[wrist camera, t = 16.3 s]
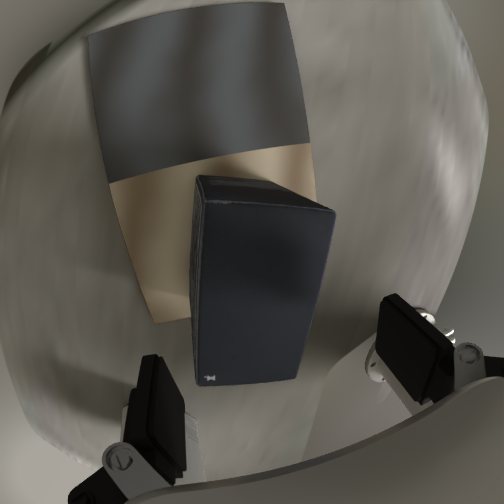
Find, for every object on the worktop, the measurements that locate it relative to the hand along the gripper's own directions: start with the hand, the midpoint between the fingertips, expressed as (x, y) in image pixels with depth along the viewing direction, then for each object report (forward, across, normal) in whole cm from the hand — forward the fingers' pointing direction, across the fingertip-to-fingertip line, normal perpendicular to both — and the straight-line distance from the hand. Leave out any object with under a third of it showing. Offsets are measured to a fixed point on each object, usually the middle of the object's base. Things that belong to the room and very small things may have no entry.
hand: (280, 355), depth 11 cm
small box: (+13, 0, 0) cm, 13 cm away
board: (+14, +1, -7) cm, 16 cm away
